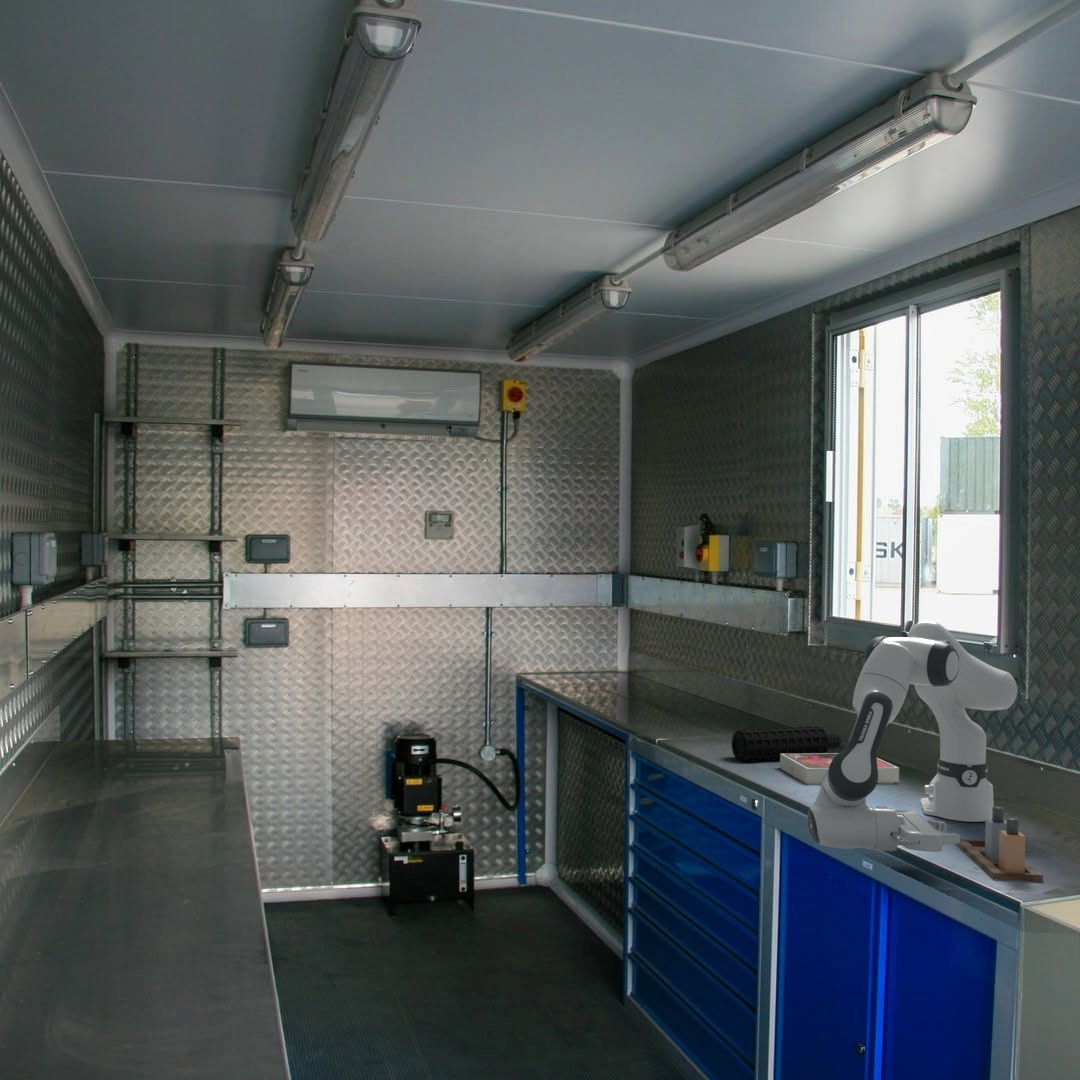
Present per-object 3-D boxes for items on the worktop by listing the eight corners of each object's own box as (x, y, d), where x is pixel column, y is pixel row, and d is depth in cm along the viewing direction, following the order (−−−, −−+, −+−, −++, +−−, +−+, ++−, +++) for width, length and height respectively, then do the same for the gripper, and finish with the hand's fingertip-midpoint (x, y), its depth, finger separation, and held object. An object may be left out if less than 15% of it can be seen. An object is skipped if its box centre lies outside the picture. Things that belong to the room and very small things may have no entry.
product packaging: (779, 769, 337) (780, 753, 337) (866, 769, 341) (866, 753, 341) (806, 785, 315) (807, 768, 315) (898, 784, 319) (899, 767, 319)
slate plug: (984, 858, 243) (985, 805, 243) (1003, 859, 243) (1004, 805, 243) (990, 864, 239) (992, 809, 239) (1009, 865, 239) (1010, 810, 239)
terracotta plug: (998, 872, 234) (999, 816, 234) (1017, 873, 234) (1018, 817, 234) (1005, 878, 230) (1006, 821, 230) (1024, 879, 230) (1025, 822, 230)
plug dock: (955, 845, 254) (956, 839, 254) (1000, 847, 254) (1000, 840, 254) (993, 880, 228) (993, 873, 228) (1042, 882, 228) (1043, 875, 228)
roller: (827, 747, 365) (833, 720, 362) (844, 761, 356) (850, 734, 353) (727, 752, 352) (732, 724, 349) (741, 767, 343) (747, 739, 341)
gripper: (898, 826, 223) (968, 830, 222) (875, 803, 244) (939, 806, 243) (897, 857, 223) (967, 861, 222) (874, 831, 244) (938, 834, 243)
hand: (952, 832), depth 233 cm, fingers open, 8 cm apart
